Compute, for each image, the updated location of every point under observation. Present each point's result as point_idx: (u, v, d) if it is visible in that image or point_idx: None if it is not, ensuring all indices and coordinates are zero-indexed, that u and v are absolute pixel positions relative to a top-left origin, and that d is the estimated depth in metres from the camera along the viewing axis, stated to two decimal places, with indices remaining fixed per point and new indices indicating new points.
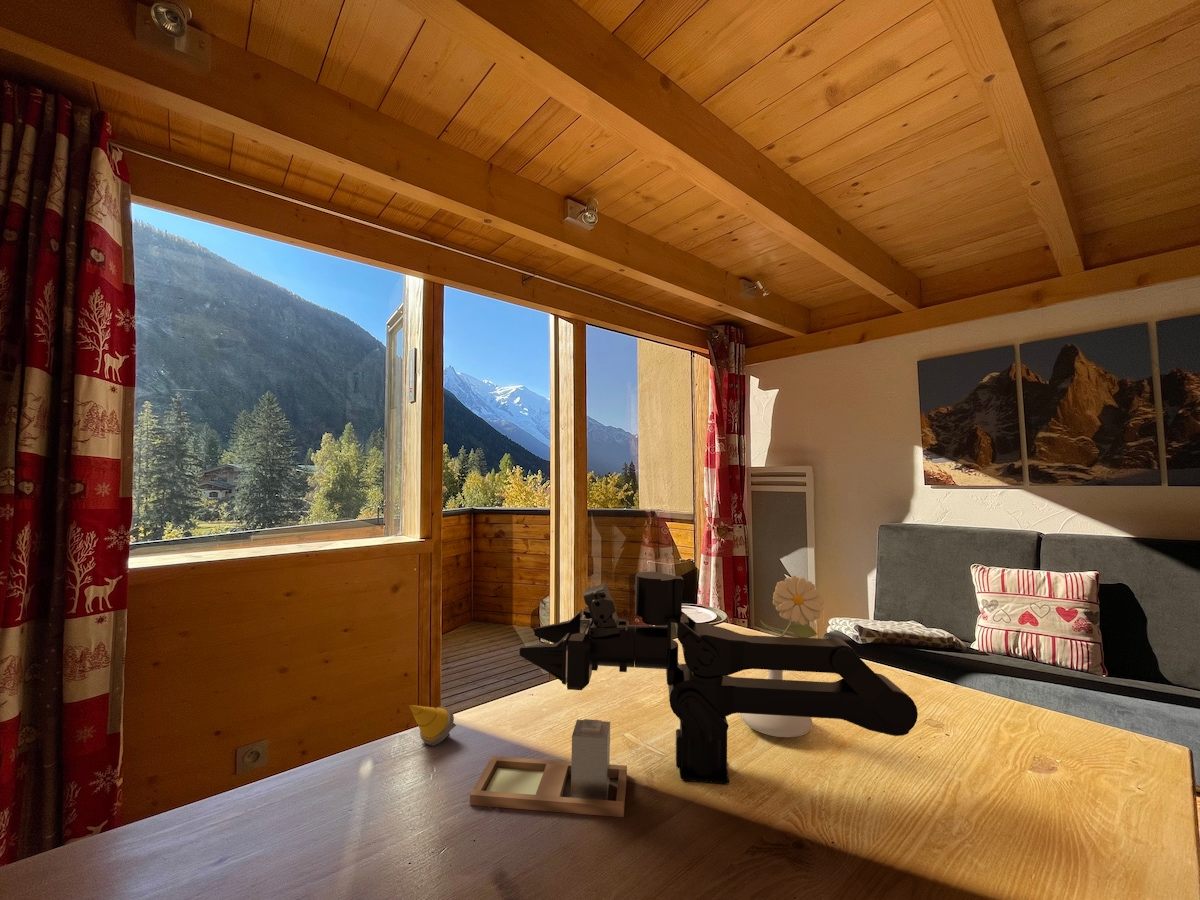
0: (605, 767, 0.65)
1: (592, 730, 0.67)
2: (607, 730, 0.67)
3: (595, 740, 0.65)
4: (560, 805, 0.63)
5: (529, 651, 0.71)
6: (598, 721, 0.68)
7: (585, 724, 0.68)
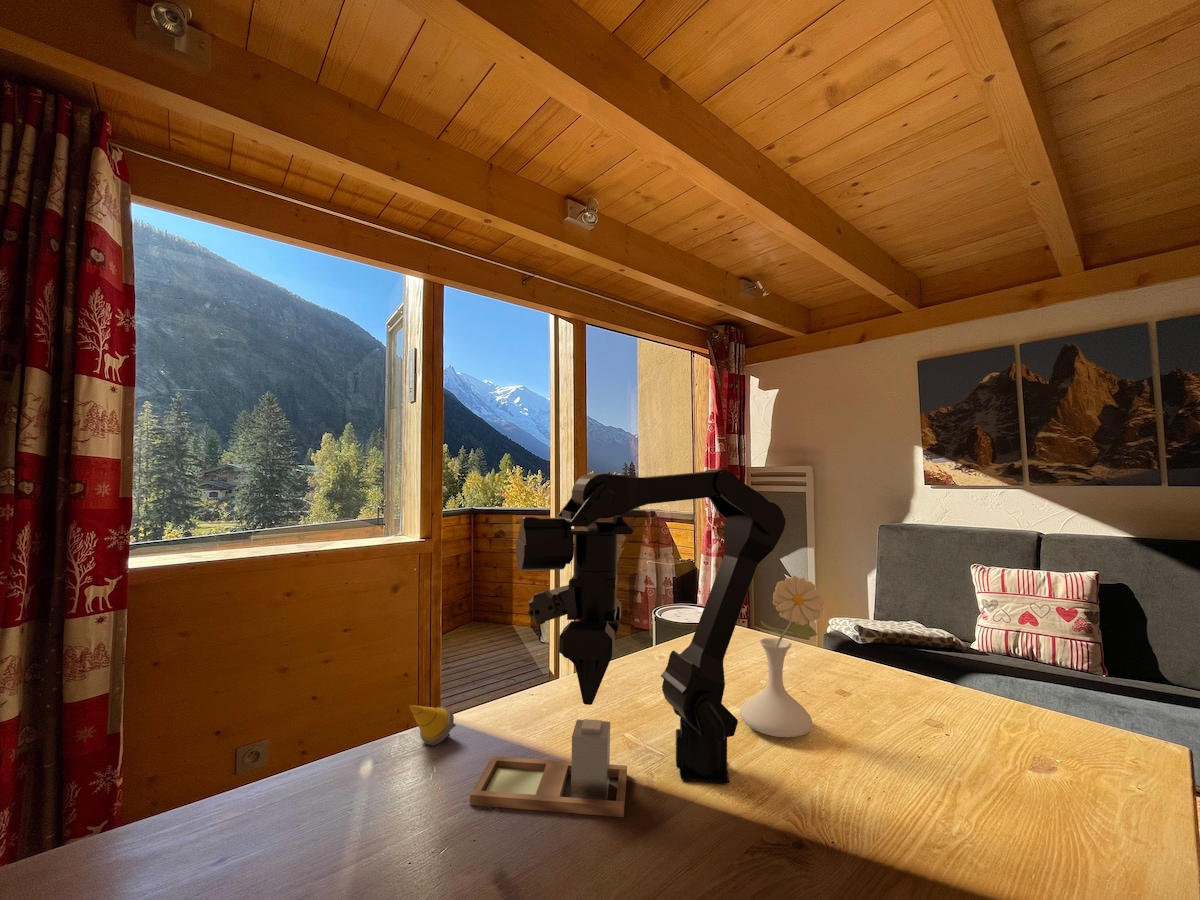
0: (605, 767, 0.65)
1: (592, 730, 0.66)
2: (607, 730, 0.67)
3: (595, 740, 0.65)
4: (560, 805, 0.63)
5: (586, 693, 0.63)
6: (598, 721, 0.68)
7: (585, 724, 0.68)
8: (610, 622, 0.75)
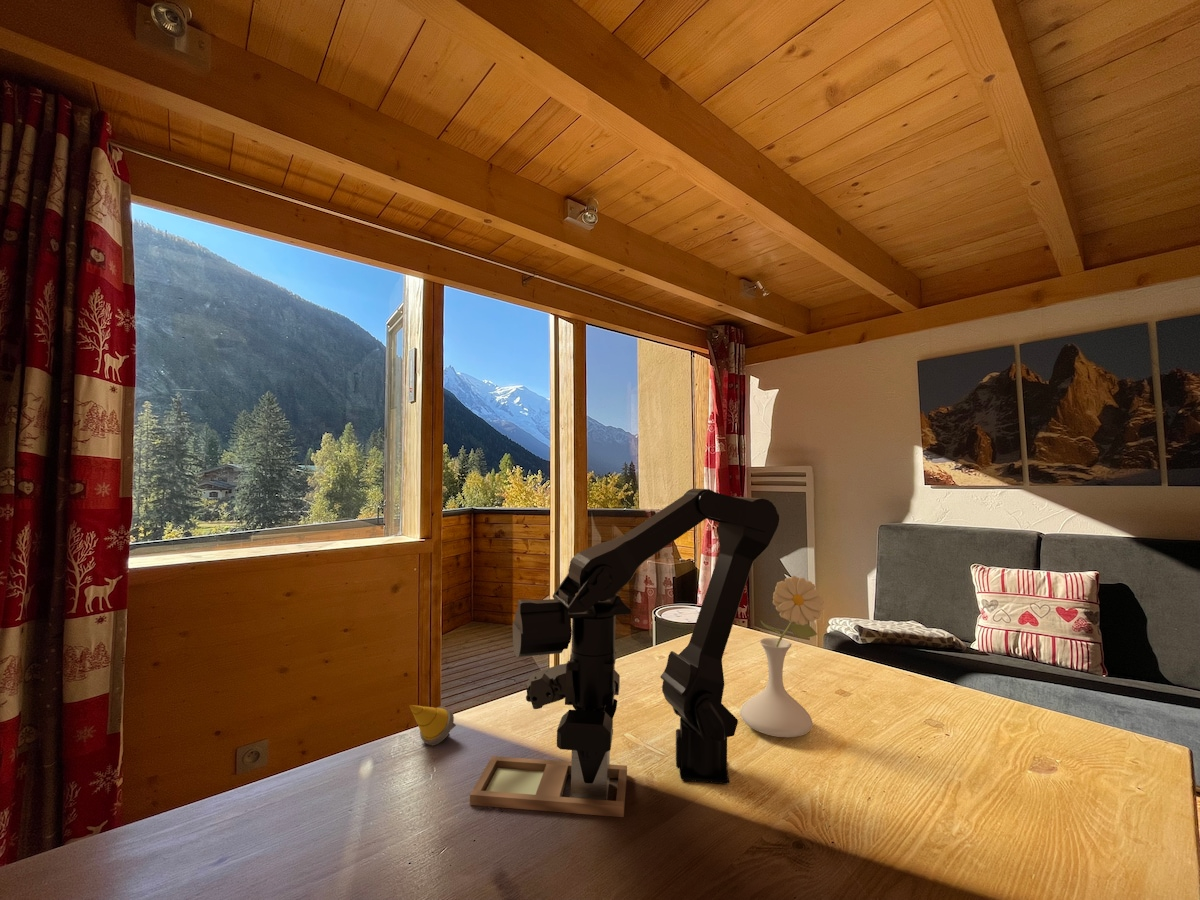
0: (605, 767, 0.65)
1: None
2: None
3: None
4: (560, 805, 0.63)
5: (586, 773, 0.65)
6: None
7: None
8: None
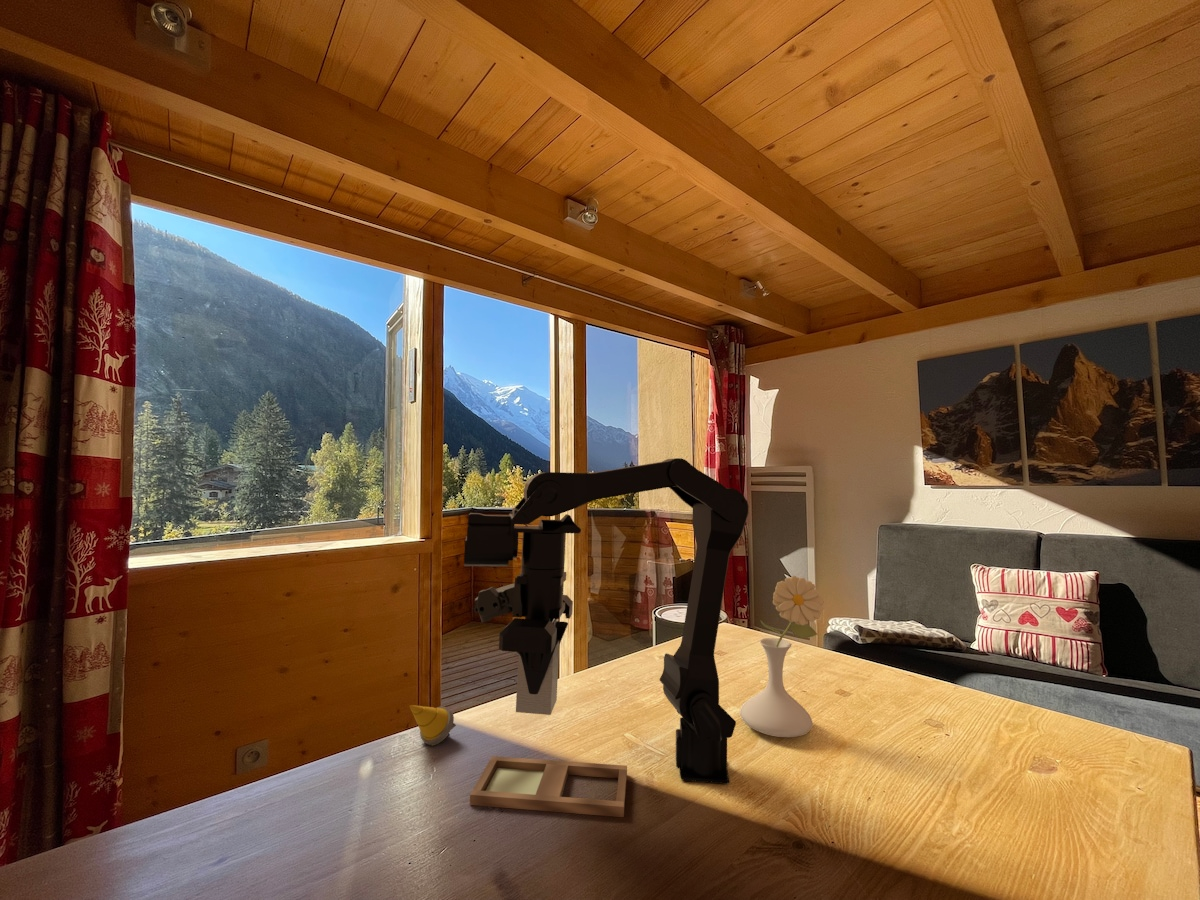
0: (550, 678, 0.66)
1: None
2: None
3: None
4: (560, 805, 0.63)
5: (531, 683, 0.66)
6: None
7: None
8: (558, 624, 0.73)
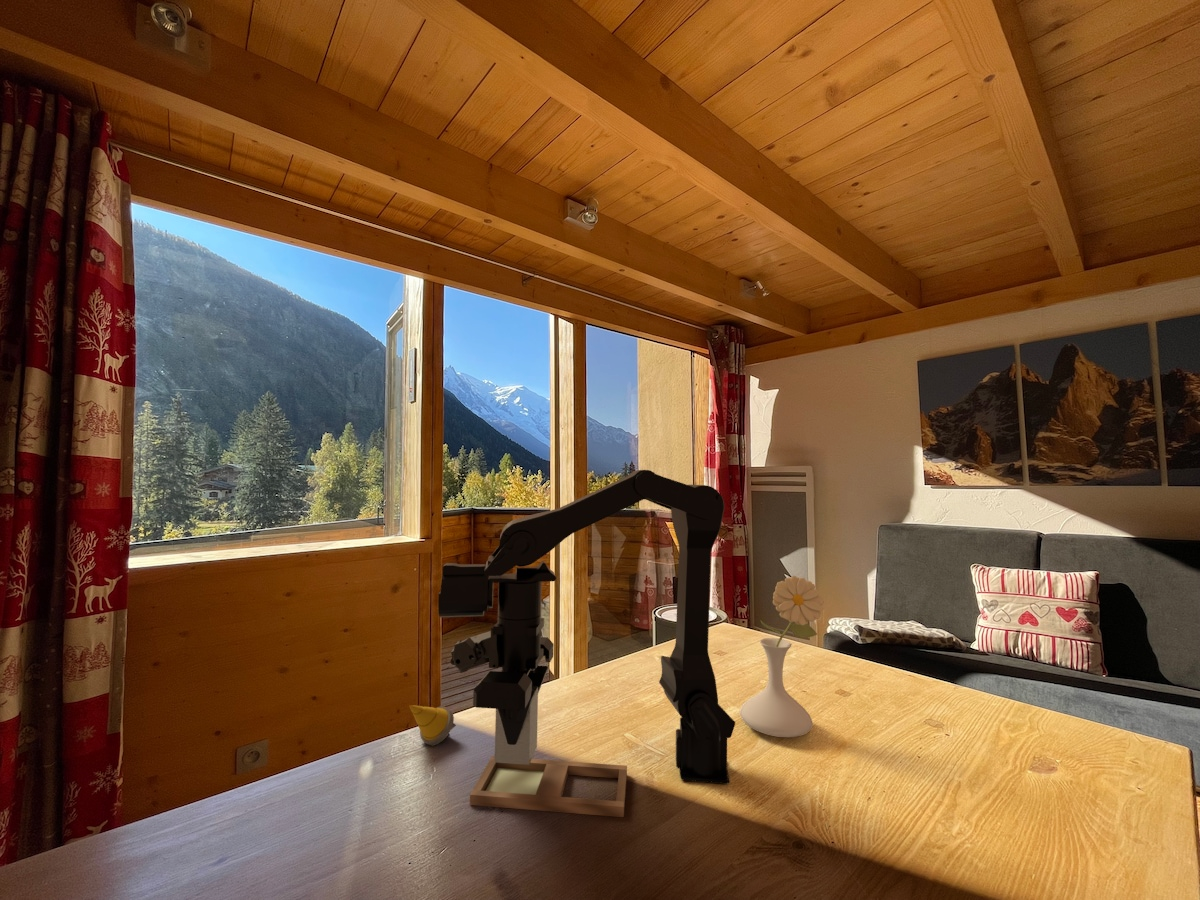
0: (528, 728, 0.66)
1: None
2: None
3: None
4: (560, 805, 0.63)
5: (509, 734, 0.66)
6: None
7: None
8: (537, 669, 0.73)
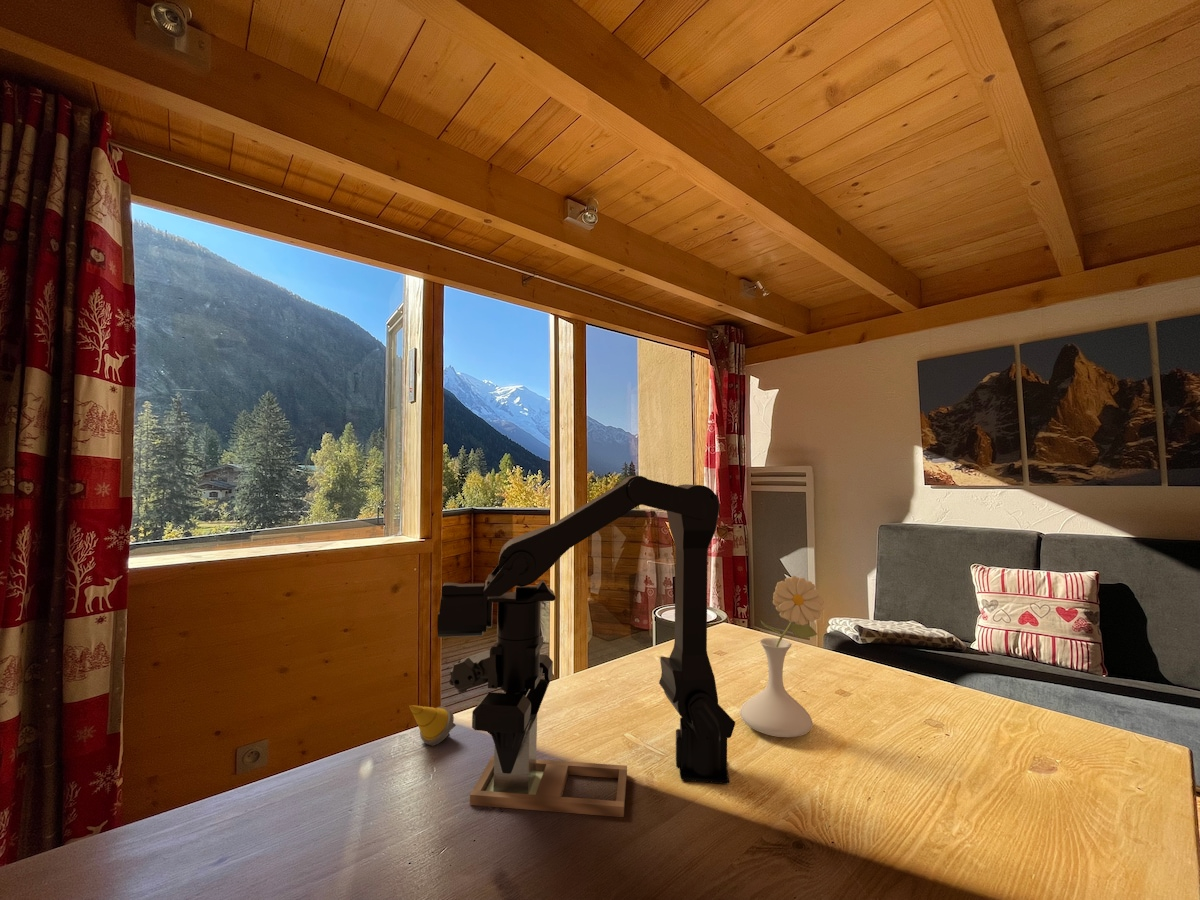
0: (527, 759, 0.66)
1: None
2: (531, 722, 0.68)
3: None
4: (560, 805, 0.63)
5: (504, 763, 0.64)
6: None
7: None
8: (539, 683, 0.75)
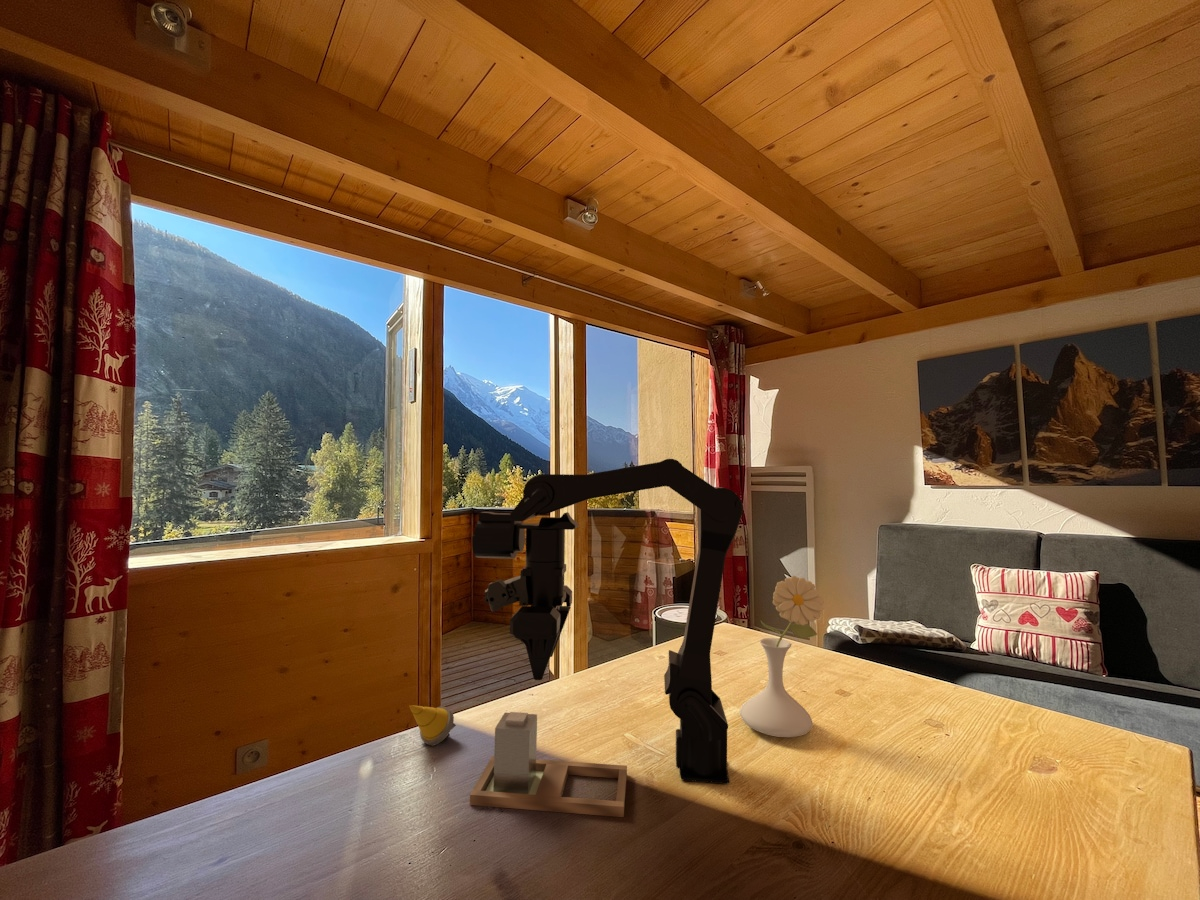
0: (527, 759, 0.66)
1: (516, 722, 0.67)
2: (531, 722, 0.68)
3: (517, 732, 0.66)
4: (560, 805, 0.63)
5: (535, 670, 0.71)
6: (524, 714, 0.69)
7: (510, 716, 0.69)
8: (561, 608, 0.83)
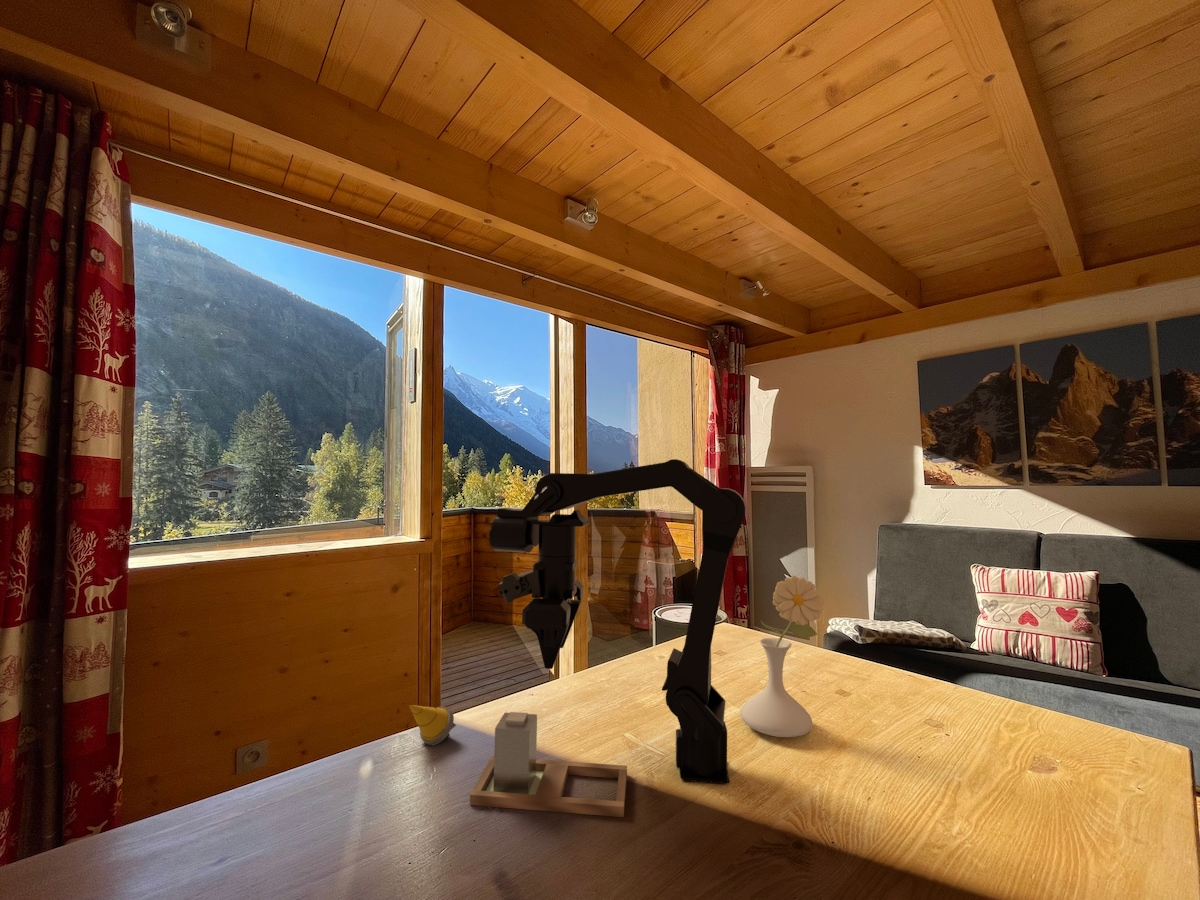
0: (527, 759, 0.66)
1: (516, 722, 0.67)
2: (531, 722, 0.68)
3: (517, 732, 0.66)
4: (560, 805, 0.63)
5: (546, 659, 0.74)
6: (524, 714, 0.69)
7: (510, 716, 0.69)
8: (572, 601, 0.86)
